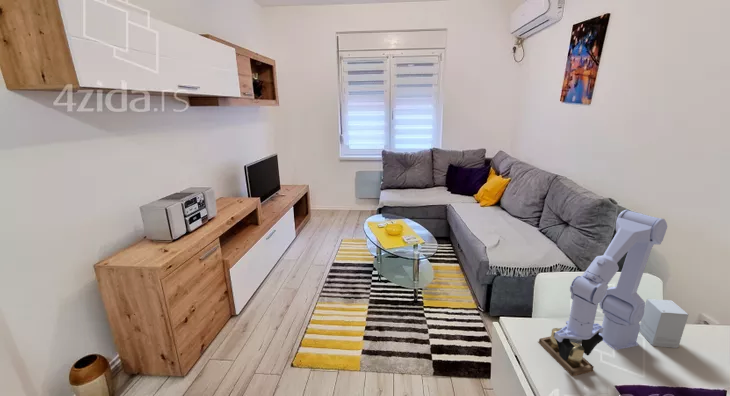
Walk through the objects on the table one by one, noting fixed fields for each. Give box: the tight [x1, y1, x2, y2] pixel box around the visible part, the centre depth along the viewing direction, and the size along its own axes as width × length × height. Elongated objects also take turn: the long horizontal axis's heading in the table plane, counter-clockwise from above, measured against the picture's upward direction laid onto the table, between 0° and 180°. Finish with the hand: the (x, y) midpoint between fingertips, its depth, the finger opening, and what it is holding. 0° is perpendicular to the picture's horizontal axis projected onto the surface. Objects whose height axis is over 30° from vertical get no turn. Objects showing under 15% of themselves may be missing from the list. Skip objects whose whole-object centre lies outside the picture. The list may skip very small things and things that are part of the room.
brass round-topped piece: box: [549, 327, 561, 352], centre depth 99 cm, size 4×4×6 cm
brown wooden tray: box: [537, 335, 595, 377], centre depth 97 cm, size 8×14×2 cm, turn 12°
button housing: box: [559, 327, 582, 344], centre depth 105 cm, size 6×6×2 cm
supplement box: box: [639, 298, 689, 349], centre depth 101 cm, size 7×7×13 cm
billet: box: [566, 342, 585, 369], centre depth 93 cm, size 4×4×6 cm
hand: (574, 355), depth 93 cm, fingers open, 7 cm apart
